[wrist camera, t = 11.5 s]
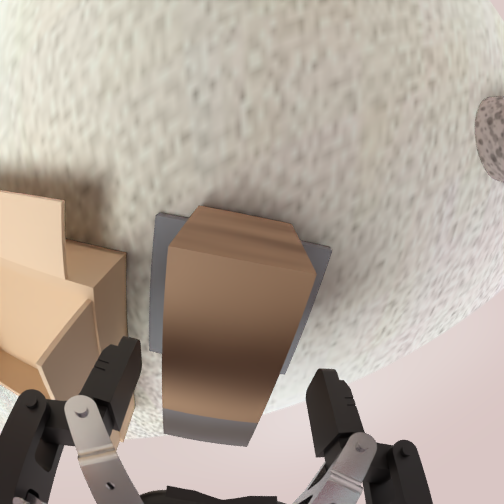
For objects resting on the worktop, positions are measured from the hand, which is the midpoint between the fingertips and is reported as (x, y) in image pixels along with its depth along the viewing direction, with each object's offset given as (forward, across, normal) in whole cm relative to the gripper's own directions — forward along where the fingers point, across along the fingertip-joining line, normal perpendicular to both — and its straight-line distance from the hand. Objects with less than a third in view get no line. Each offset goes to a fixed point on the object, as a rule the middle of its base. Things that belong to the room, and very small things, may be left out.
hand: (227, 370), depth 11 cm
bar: (+6, 0, +1) cm, 6 cm away
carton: (+6, +16, +5) cm, 18 cm away
